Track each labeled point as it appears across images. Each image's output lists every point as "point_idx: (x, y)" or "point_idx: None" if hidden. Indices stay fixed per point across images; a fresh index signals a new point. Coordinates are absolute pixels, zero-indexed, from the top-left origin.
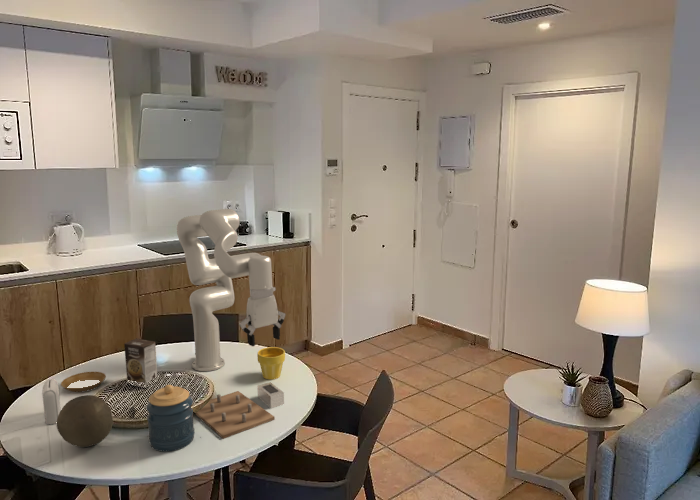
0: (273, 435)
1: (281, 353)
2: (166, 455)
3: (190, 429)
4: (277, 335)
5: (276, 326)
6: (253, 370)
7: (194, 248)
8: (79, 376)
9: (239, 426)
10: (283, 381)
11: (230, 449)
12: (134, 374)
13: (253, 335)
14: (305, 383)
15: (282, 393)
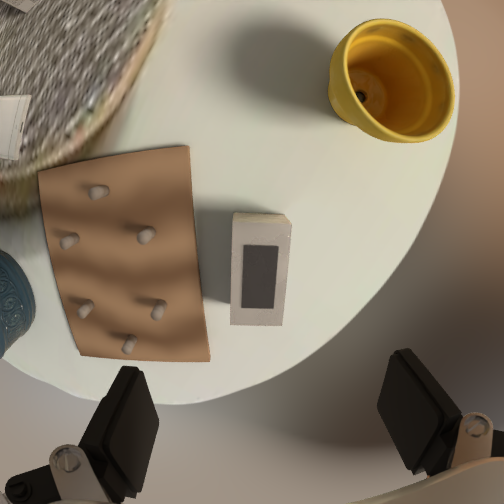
0: (179, 399)
1: (438, 90)
2: None
3: (17, 338)
4: (388, 430)
5: (430, 472)
6: (325, 20)
7: None
8: None
9: (117, 348)
10: (367, 161)
11: (92, 384)
12: None
13: (131, 493)
14: (406, 223)
15: (276, 325)
